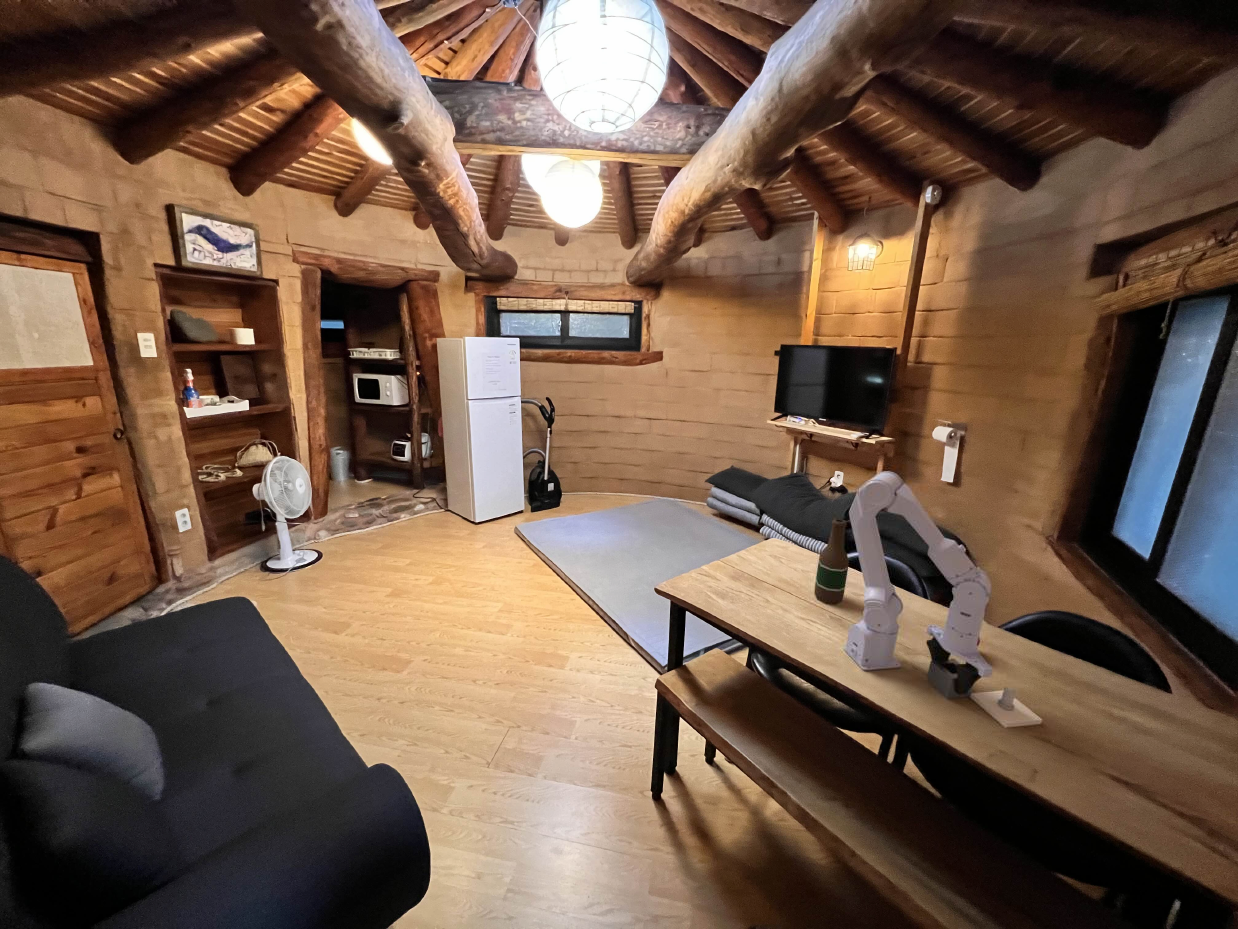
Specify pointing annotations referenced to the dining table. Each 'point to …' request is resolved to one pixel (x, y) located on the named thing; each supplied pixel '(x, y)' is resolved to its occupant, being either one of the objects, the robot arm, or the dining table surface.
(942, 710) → the dining table surface
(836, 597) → the beer bottle
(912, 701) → the dining table surface
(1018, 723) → the post block
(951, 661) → the collar
